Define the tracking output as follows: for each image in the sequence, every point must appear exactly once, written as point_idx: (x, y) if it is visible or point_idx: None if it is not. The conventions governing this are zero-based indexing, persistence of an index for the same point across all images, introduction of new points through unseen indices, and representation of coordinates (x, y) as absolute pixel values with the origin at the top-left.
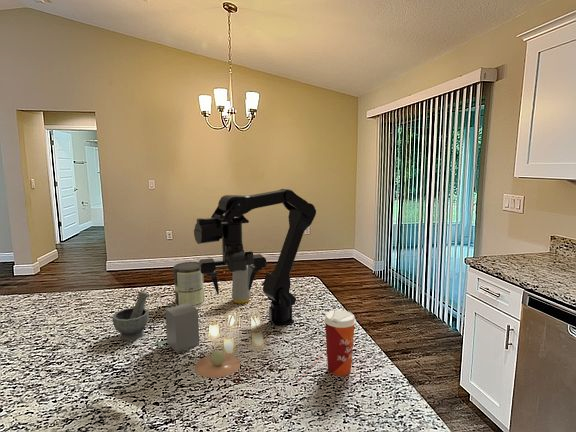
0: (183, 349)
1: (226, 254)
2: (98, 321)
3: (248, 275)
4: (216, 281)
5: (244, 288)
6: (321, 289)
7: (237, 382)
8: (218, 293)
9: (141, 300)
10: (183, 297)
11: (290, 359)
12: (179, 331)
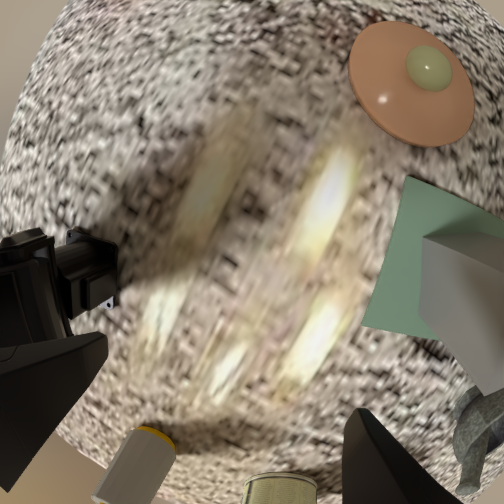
0: (474, 235)
1: None
2: (458, 464)
3: (36, 424)
4: (414, 492)
5: (132, 455)
6: None
7: (378, 14)
8: (360, 410)
9: (478, 470)
10: (308, 500)
11: (195, 27)
12: None
